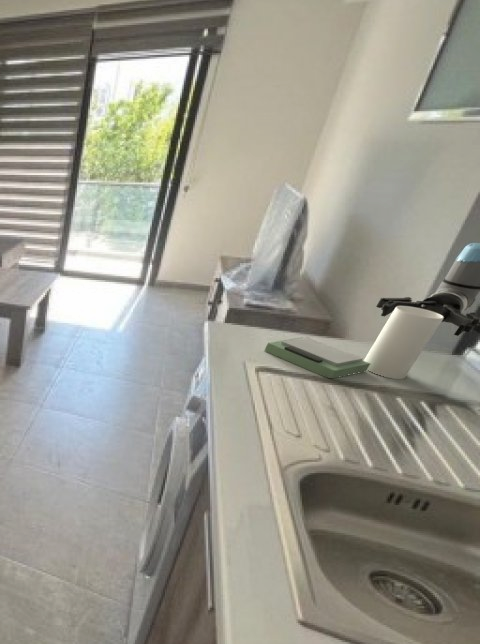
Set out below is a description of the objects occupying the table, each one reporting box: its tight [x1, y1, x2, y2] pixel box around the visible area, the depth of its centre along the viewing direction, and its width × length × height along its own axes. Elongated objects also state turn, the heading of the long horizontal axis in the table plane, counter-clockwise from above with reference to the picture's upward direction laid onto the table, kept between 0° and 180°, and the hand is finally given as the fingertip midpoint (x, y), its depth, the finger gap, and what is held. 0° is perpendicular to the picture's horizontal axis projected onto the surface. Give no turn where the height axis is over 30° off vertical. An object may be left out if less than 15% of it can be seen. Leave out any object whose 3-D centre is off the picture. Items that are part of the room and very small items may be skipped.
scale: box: [263, 336, 371, 379], centre depth 123 cm, size 16×14×3 cm
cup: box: [363, 306, 444, 380], centre depth 117 cm, size 8×8×16 cm
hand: (420, 320), depth 120 cm, fingers open, 13 cm apart
